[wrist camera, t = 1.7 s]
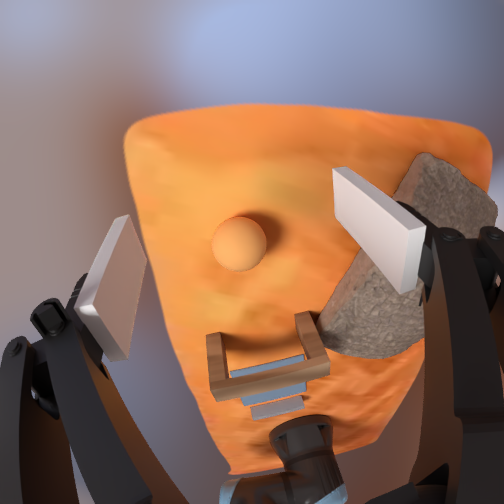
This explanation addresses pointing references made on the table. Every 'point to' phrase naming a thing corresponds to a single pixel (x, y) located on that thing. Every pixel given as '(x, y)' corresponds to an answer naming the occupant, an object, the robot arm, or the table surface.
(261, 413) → the wall
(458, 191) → the stone tablet
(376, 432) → the table surface
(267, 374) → the bridge
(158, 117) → the table surface
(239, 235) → the ball
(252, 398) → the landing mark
